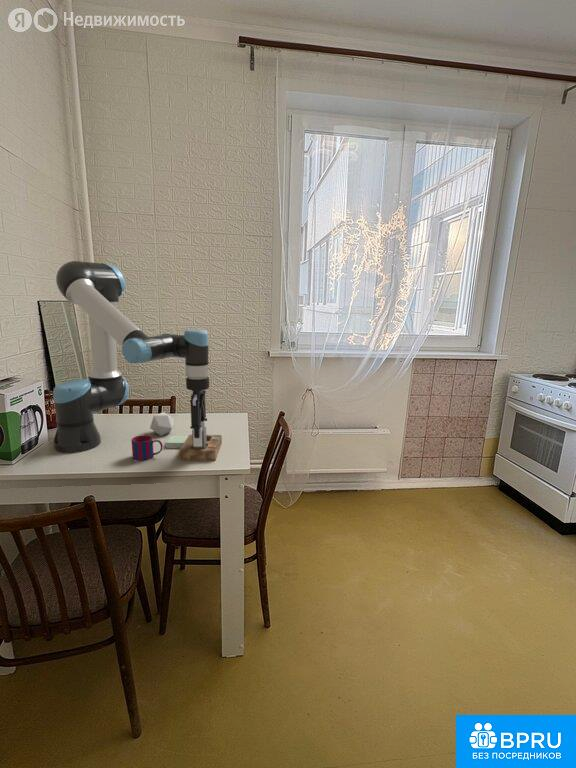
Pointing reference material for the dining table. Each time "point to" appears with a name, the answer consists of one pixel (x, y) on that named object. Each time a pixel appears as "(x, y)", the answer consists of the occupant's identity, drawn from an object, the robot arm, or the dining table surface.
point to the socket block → (201, 454)
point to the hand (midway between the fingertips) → (199, 442)
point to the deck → (176, 441)
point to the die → (162, 423)
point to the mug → (143, 447)
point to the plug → (204, 440)
